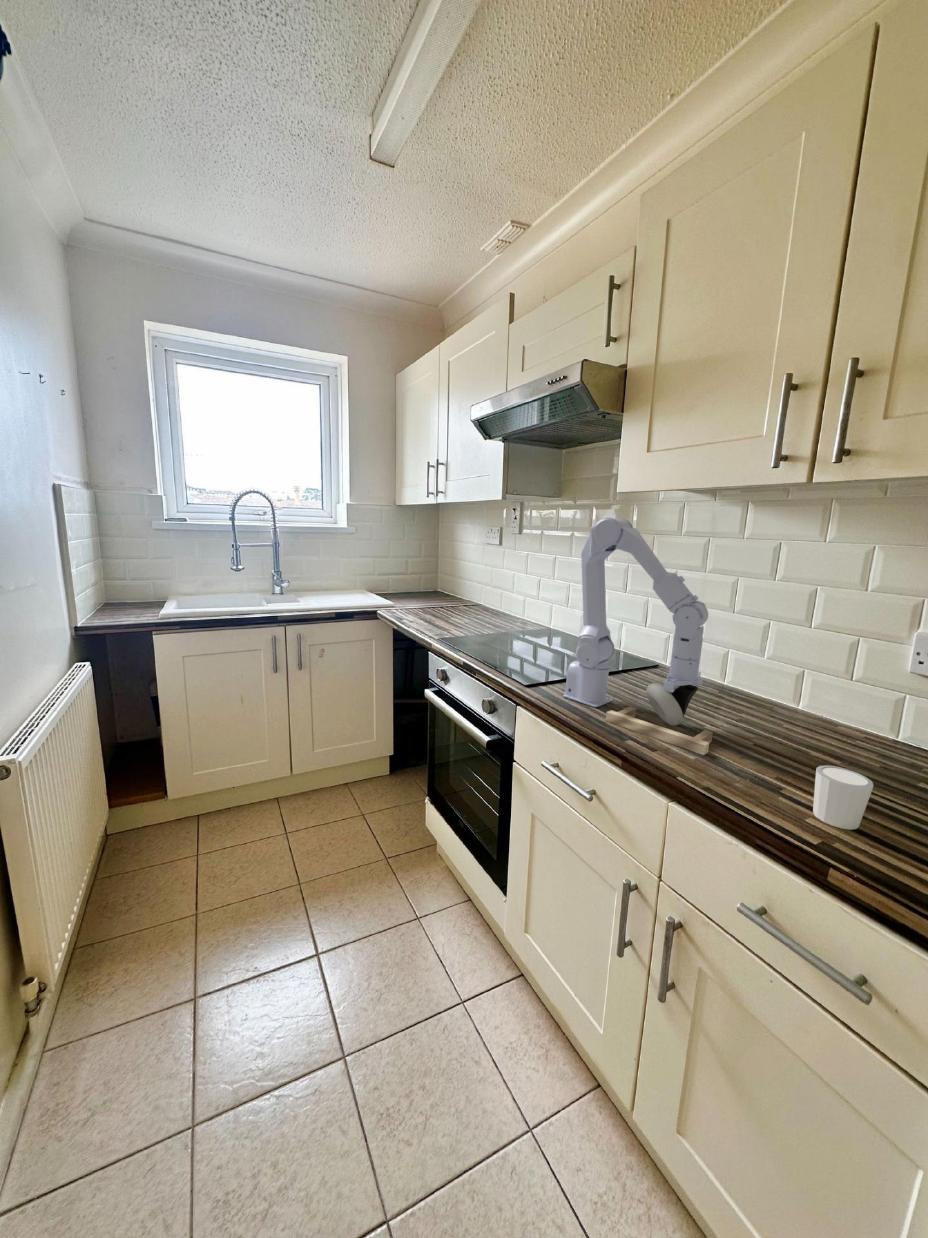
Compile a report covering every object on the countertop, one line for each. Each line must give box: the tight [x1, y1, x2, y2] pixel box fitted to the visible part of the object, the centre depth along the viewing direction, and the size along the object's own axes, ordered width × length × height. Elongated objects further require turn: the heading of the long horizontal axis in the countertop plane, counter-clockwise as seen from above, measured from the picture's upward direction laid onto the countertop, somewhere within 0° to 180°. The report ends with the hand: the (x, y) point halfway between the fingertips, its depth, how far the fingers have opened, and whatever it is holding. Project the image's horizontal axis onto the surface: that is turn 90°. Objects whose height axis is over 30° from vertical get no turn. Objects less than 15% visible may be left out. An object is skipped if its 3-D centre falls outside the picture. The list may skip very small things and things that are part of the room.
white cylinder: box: [812, 765, 874, 831], centre depth 74 cm, size 7×7×7 cm
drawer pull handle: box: [605, 706, 714, 756], centre depth 103 cm, size 21×8×2 cm, turn 44°
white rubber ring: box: [645, 682, 684, 726], centre depth 106 cm, size 10×4×10 cm
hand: (677, 716), depth 109 cm, fingers closed
